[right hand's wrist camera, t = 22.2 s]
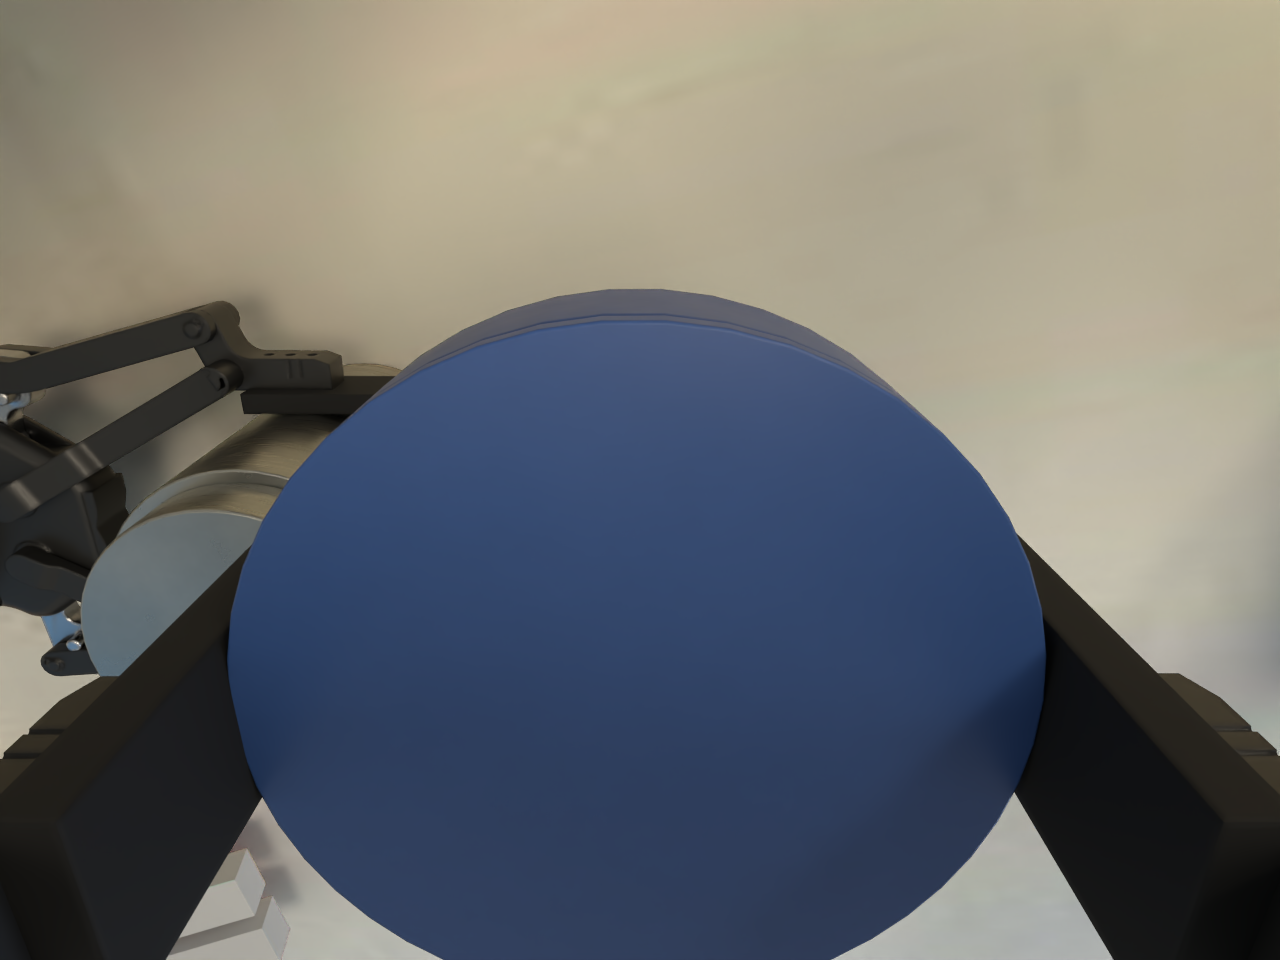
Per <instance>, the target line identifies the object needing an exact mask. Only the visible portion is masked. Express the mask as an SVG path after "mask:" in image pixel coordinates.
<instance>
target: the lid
mask: <svg viewBox="0 0 1280 960" xmlns="http://www.w3.org/2000/svg"><path fill="white" fill-rule="evenodd" d="M227 666H228V679H229V684H230V689H231V694H232V699H233V703H234V708H235V712H236V716H237V721H238V725H239V729H240V734H241V738H242V742H243V747H244V751H245V755H246V759H247V763H248V766H249V769H250V772H251V774H252V777H253V779H254V781H255V784H256V786H257V789H258V790H259V792H260V794H261V795H262V797H263V799H264V801H265V802H266V804H267V806H268V808H269V809H270V811H271V813H272V815H273V816H274V818H275V820H276V822H277V823H278V825H279V826H280V828H281V829H282V830H283V832H284V833H285V834H286V835H287V837H288V838H289V839H290V841H291V842H292V843H293V845H294V846H295V847H296V848H297V850H298V851H299V852H300V854H301V855H302V856H303V858H304V859H305V860H306V861H307V862H308V863H309V864H310V865H311V866H312V867H313V868H314V869H315V870H316V871H317V872H318V873H319V874H320V875H321V876H322V877H323V878H324V879H325V880H326V881H327V882H328V883H329V884H330V885H331V886H332V887H333V888H334V889H335V890H336V891H337V892H338V893H339V894H341V895H342V896H343V897H344V898H346V899H347V900H348V901H349V902H350V903H352V904H353V905H354V906H355V907H357V908H358V909H359V910H360V911H362V912H363V913H364V914H365V915H367V916H368V917H369V918H371V919H372V920H374V921H375V922H377V923H379V924H380V925H382V926H383V927H385V928H386V929H388V930H390V931H391V932H393V933H394V934H396V935H397V936H399V937H401V938H402V939H404V940H405V941H407V942H409V943H411V944H413V945H415V946H417V947H419V948H421V949H423V950H425V951H427V952H429V953H431V954H433V955H435V956H437V957H439V958H441V959H443V960H831V959H834V958H836V957H838V956H839V955H841V954H843V953H845V952H847V951H849V950H851V949H853V948H855V947H857V946H859V945H861V944H863V943H865V942H867V941H869V940H871V939H872V938H874V937H875V936H877V935H879V934H880V933H882V932H883V931H885V930H886V929H888V928H889V927H891V926H892V925H894V924H895V923H897V922H898V921H900V920H902V919H903V918H905V917H906V916H908V915H909V914H910V913H911V912H913V911H914V910H915V909H916V908H917V907H919V906H920V905H921V904H922V903H924V902H925V901H926V900H927V899H928V898H930V897H931V896H932V895H933V894H935V893H936V892H937V891H938V890H939V889H941V888H942V887H943V886H944V885H945V884H946V883H947V882H948V880H949V879H950V878H951V877H952V876H953V875H954V874H955V873H956V872H957V871H958V870H959V869H960V868H961V867H962V866H963V865H964V864H965V863H966V862H967V861H968V860H969V859H970V858H971V857H972V855H973V854H974V853H975V851H976V850H977V849H978V847H979V846H980V845H981V843H982V842H983V840H984V839H985V838H986V836H987V835H988V834H989V832H990V831H991V830H992V828H993V827H994V826H995V824H996V823H997V822H998V820H999V818H1000V816H1001V815H1002V813H1003V811H1004V809H1005V807H1006V806H1007V804H1008V802H1009V800H1010V798H1011V797H1012V795H1013V793H1014V791H1015V789H1016V788H1017V786H1018V784H1019V781H1020V779H1021V776H1022V774H1023V771H1024V768H1025V766H1026V763H1027V761H1028V758H1029V755H1030V753H1031V750H1032V748H1033V745H1034V742H1035V737H1036V733H1037V728H1038V723H1039V719H1040V714H1041V710H1042V705H1043V701H1044V686H1045V669H1046V647H1045V637H1044V627H1043V617H1042V608H1041V604H1040V600H1039V597H1038V593H1037V589H1036V585H1035V582H1034V578H1033V574H1032V571H1031V567H1030V563H1029V561H1028V558H1027V556H1026V554H1025V552H1024V550H1023V547H1022V545H1021V543H1020V541H1019V539H1018V536H1017V534H1016V532H1015V530H1014V528H1013V525H1012V523H1011V521H1010V519H1009V517H1008V515H1007V514H1006V512H1005V511H1004V509H1003V508H1002V506H1001V505H1000V503H999V502H998V500H997V499H996V497H995V496H994V494H993V493H992V491H991V490H990V488H989V487H988V485H987V484H986V482H985V481H984V479H983V477H982V476H981V474H980V473H979V472H978V471H977V470H976V469H975V468H974V467H973V466H972V465H971V463H970V462H969V461H968V460H967V459H966V458H965V457H964V456H963V455H962V454H961V453H960V451H959V450H958V449H957V448H956V447H955V446H954V445H953V444H952V443H951V442H950V440H949V439H948V438H947V437H946V436H945V435H944V434H943V433H942V432H941V431H940V430H939V429H937V428H936V427H935V426H934V425H933V424H932V423H931V422H930V421H929V420H927V419H926V418H925V417H924V416H923V415H922V414H921V413H920V412H919V411H918V410H916V409H915V408H914V407H913V406H912V405H911V404H910V403H909V402H908V401H906V400H905V399H904V398H903V397H902V396H901V395H900V394H899V393H898V392H896V391H895V390H894V389H893V388H892V387H891V386H890V385H889V384H888V383H886V382H885V381H884V380H883V379H881V378H880V377H879V376H878V375H876V374H875V373H874V372H873V371H871V370H870V369H869V368H868V367H867V366H865V365H864V364H863V363H862V362H860V361H859V360H858V359H857V358H855V357H854V356H853V355H852V354H850V353H849V352H847V351H845V350H844V349H842V348H840V347H839V346H837V345H835V344H834V343H832V342H830V341H829V340H827V339H825V338H824V337H822V336H820V335H819V334H817V333H815V332H814V331H812V330H810V329H808V328H806V327H804V326H801V325H799V324H797V323H794V322H792V321H789V320H787V319H785V318H782V317H780V316H778V315H775V314H773V313H770V312H768V311H766V310H763V309H760V308H756V307H753V306H749V305H745V304H742V303H738V302H734V301H730V300H727V299H723V298H719V297H716V296H711V295H703V294H695V293H688V292H680V291H672V290H664V289H608V290H601V291H593V292H586V293H579V294H572V295H565V296H557V297H554V298H550V299H547V300H543V301H539V302H536V303H532V304H529V305H525V306H522V307H518V308H514V309H511V310H508V311H505V312H503V313H501V314H498V315H496V316H494V317H491V318H489V319H487V320H484V321H482V322H480V323H478V324H475V325H473V326H471V327H468V328H466V329H464V330H462V331H460V332H458V333H457V334H455V335H453V336H452V337H450V338H448V339H447V340H445V341H444V342H442V343H440V344H439V345H437V346H435V347H434V348H432V349H431V350H429V351H427V352H426V353H424V354H422V355H421V356H419V357H418V358H417V359H416V360H415V361H413V362H412V363H411V364H410V365H409V366H407V367H406V368H405V369H404V370H402V371H401V372H400V373H399V374H398V375H396V376H395V377H394V378H393V379H392V380H390V381H389V382H388V383H387V384H386V385H384V386H383V387H382V388H381V389H380V390H379V391H378V392H376V393H375V394H374V395H373V396H372V397H371V398H370V399H369V400H367V401H366V402H365V403H364V404H363V405H362V406H361V407H359V408H358V409H357V410H356V411H355V412H354V413H353V414H352V415H350V416H349V417H348V418H347V419H346V420H345V421H344V422H343V423H341V424H340V425H339V426H338V427H337V428H336V429H335V430H333V431H332V432H331V433H330V434H329V435H328V436H327V437H326V438H325V439H324V440H323V441H322V442H321V443H320V444H319V446H318V447H317V448H316V449H315V450H314V451H313V452H312V453H311V455H310V456H309V457H308V458H307V459H306V460H305V461H304V462H303V464H302V465H301V466H300V467H299V468H298V469H297V470H296V471H295V473H294V474H293V475H292V476H291V477H290V478H289V480H288V482H287V483H286V485H285V486H284V488H283V489H282V491H281V492H280V494H279V496H278V497H277V499H276V500H275V502H274V503H273V505H272V506H271V508H270V510H269V511H268V513H267V514H266V516H265V517H264V519H263V520H262V523H261V525H260V527H259V529H258V532H257V534H256V536H255V539H254V541H253V543H252V546H251V548H250V550H249V553H248V555H247V557H246V559H245V562H244V564H243V566H242V570H241V574H240V578H239V582H238V586H237V590H236V594H235V598H234V602H233V606H232V610H231V618H230V630H229V642H228V654H227Z"/></svg>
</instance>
